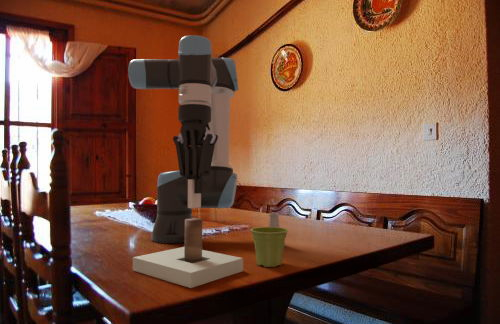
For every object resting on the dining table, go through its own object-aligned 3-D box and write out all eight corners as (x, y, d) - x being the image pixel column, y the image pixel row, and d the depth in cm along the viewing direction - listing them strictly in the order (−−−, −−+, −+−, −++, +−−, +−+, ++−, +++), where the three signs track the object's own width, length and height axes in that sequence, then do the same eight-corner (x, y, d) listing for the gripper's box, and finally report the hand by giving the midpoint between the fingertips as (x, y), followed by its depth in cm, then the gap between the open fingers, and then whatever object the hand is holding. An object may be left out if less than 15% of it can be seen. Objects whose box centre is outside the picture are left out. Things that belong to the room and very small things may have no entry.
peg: (180, 272, 83) (180, 219, 83) (193, 268, 86) (194, 217, 87) (192, 275, 81) (192, 221, 81) (205, 271, 84) (206, 219, 84)
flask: (284, 249, 109) (284, 215, 109) (260, 247, 110) (260, 214, 111) (287, 244, 116) (287, 212, 116) (264, 243, 118) (264, 212, 118)
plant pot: (248, 260, 95) (249, 226, 95) (284, 259, 96) (284, 226, 96) (252, 269, 86) (252, 232, 86) (291, 269, 87) (291, 232, 87)
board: (132, 270, 85) (132, 257, 85) (185, 257, 97) (185, 246, 97) (190, 288, 72) (190, 272, 72) (242, 271, 85) (242, 258, 85)
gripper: (164, 106, 86) (163, 206, 85) (202, 100, 77) (201, 211, 77) (188, 109, 91) (187, 204, 91) (226, 104, 83) (226, 208, 83)
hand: (194, 207), depth 84 cm, fingers closed
